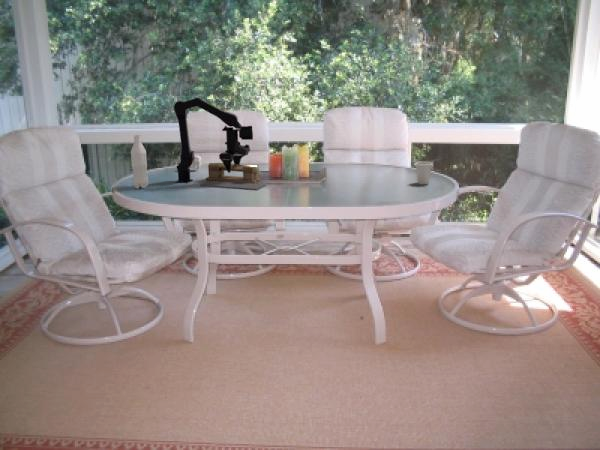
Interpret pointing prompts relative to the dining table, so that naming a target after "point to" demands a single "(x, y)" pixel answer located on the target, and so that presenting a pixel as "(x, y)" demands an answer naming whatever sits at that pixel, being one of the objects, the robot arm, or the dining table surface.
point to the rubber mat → (234, 185)
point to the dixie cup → (423, 172)
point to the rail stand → (219, 176)
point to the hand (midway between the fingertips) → (233, 171)
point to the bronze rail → (235, 167)
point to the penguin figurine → (196, 163)
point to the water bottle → (139, 163)
